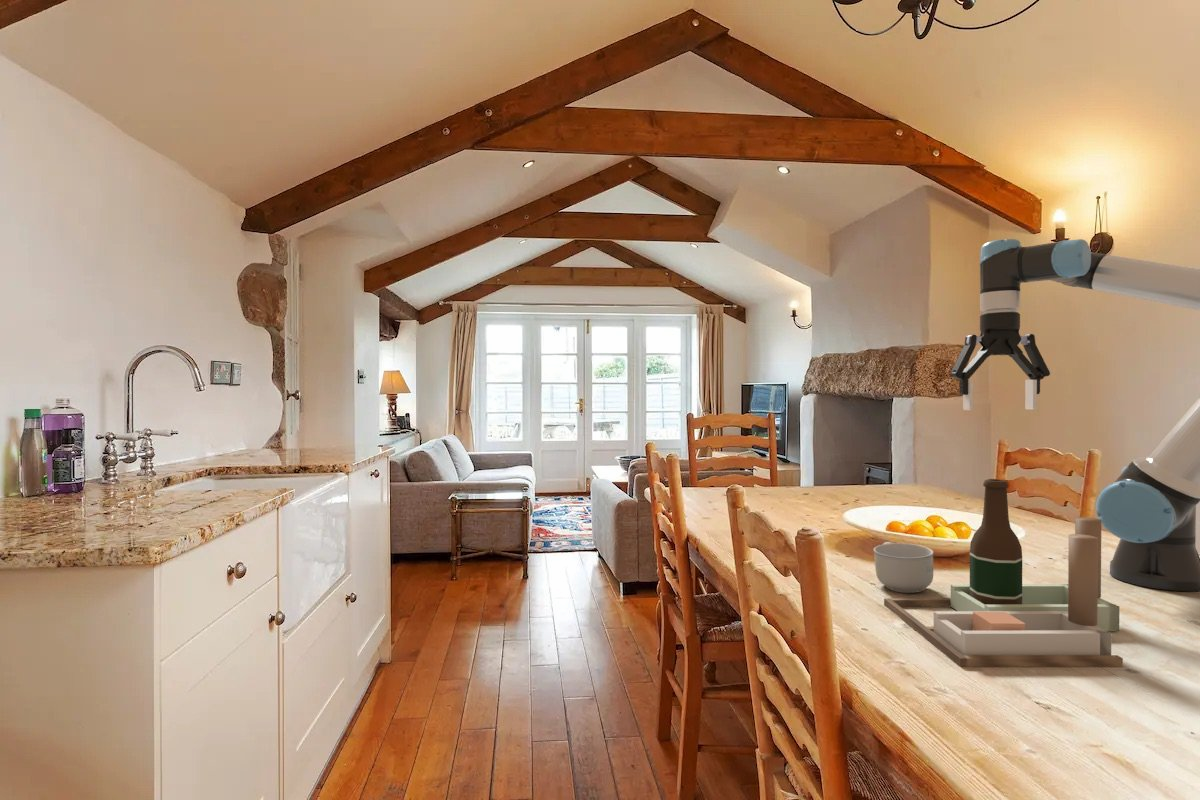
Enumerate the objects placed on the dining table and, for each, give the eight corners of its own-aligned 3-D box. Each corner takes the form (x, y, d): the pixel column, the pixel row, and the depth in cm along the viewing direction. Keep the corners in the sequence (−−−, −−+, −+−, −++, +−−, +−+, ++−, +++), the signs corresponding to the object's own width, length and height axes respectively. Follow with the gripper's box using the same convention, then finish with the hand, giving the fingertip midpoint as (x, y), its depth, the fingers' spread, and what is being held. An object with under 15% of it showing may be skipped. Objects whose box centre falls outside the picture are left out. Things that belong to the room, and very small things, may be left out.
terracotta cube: (1005, 643, 102) (1005, 611, 102) (1024, 656, 97) (1025, 623, 97) (972, 643, 103) (972, 611, 102) (990, 656, 98) (990, 623, 97)
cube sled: (1072, 635, 104) (1073, 529, 104) (1118, 660, 95) (1119, 544, 95) (933, 636, 105) (933, 530, 104) (965, 660, 95) (965, 545, 95)
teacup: (941, 598, 124) (941, 556, 123) (879, 595, 126) (879, 554, 126) (920, 577, 137) (920, 539, 137) (865, 574, 139) (865, 537, 139)
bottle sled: (1073, 606, 118) (1074, 512, 118) (1125, 631, 106) (1126, 526, 106) (950, 606, 119) (950, 513, 118) (988, 631, 107) (988, 527, 106)
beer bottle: (959, 612, 116) (959, 477, 115) (994, 608, 118) (995, 475, 117) (996, 628, 108) (996, 484, 108) (1033, 623, 110) (1034, 482, 110)
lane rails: (1010, 604, 120) (1010, 598, 120) (1122, 666, 93) (1122, 658, 93) (884, 604, 120) (884, 598, 120) (960, 666, 94) (960, 658, 94)
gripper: (1046, 313, 146) (1045, 408, 147) (933, 315, 147) (933, 409, 147) (1069, 309, 139) (1069, 409, 139) (950, 311, 139) (950, 410, 140)
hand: (999, 409), depth 143 cm, fingers open, 13 cm apart
